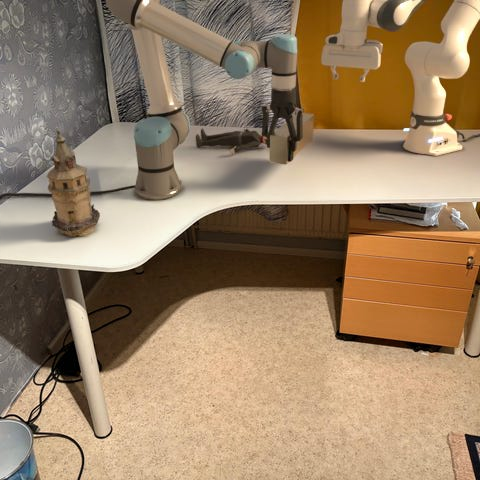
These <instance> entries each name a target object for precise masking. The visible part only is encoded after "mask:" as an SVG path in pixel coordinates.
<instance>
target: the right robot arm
mask: <svg viewBox="0 0 480 480" xmlns="http://www.w3.org/2000/svg"><path fill="white" fill-rule="evenodd" d="M426 1H427V0H342V4H341V5H342V6H341V25H340V27H339V28H340V29H339V32H336V33H333V34H331V35H328V36H327V37H326V38H325V45H324V46H323V47H322V51H321V57H320V58H321V59H320V63H321V64H322V66H327V67H330V71H331V73H332V80H339V75H340V74H339V73H337V71H336V69H337V67H340V68H350V69H351V68H353V69H363V72H364V73H363V74H362V75H360V76H359V82H361V83H364V82H365V81H366V76H367V75H368V73H369V72H370V70H378V69H379V68H380V67H381V60H382V53H383V50H384V49H383V48H384V45H383V43H382V42H381V41H380V40H378V39H375V40H374V39H367V33H368V27H373V28H378V29H382V30H385V31H387V32H389V33H390V32H391V33H393V32H394V33H395V32H398V31H400V30H401V29H403V28H404V26H406V24H407V23H408V21H409V20H410V18H411V17H412V15H413V14H414V13H415V12H416V11H417V10H418V9H419V8H420V7H421V6H422V5H423V4H424V3H425V2H426ZM479 21H480V0H453V2H452V4H451V6H450V7H449V9H448V10H447V11H446V13H445V15H444V16H443V18H442V19H441V22H440V29H441V31H442V33H443V37H442V40H441V42H440V43H437V42H432V41H426V40H425V41H416V42H413V43H411V44H410V45H409V46H408V48H407V49H406V51H405V54H404V63H405V65H406V66H407V68H408V69H409V71H410V74H411V77H412V80H413V86H414V95H413V96H414V97H413V105H412V110H411V112H410V117H409V128H407V127H406V128H403V132H407V135H406V137H405V140H404V143H403V144H402V147H403V149H404V150H406V151H408V152H411V153H417V154H422V155H429V156H434V157H435V156H436V157H437V156H441V155H445V154H448V153H453V152H457V151H462V150H463V145H462V144H460V143H459V142H458V139H459V136H461V137H462V142H468V141H470V140H472V139H473V138H475V137H480V133H476V134H477V135H476V134H472V135H471V136H469V137H468V138H467V139H466V138H465V135H464V134H463V133H462V132H460V131H459V130H457V129H455V128H453V127H451V126H450V124H448V123H447V121H451V119H452V118H453V116H452V114H449V113H445V112H444V109H445V103H446V97H447V92H446V90H445V88H444V87H443V86H442V84H441V82H440V78H441V79H444V80H445V79H446V80H454V79H456V80H457V79H460V78H462V77H463V76H464V75H466V73H467V72H468V69H469V67H470V61H471V60H470V55H469V53H468V49H467V48H468V47H467V46H468V41H469V39H470V36H471V35H472V32H473V31H474V29H475V28H476V26H477V24H478V22H479ZM446 120H447V121H446ZM463 139H465V140H463Z"/></svg>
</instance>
